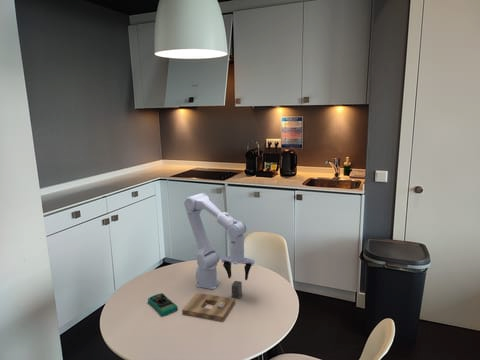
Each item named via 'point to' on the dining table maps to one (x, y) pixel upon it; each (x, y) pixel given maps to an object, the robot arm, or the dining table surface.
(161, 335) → the dining table surface
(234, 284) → the grey block
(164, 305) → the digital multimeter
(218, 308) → the socket board
